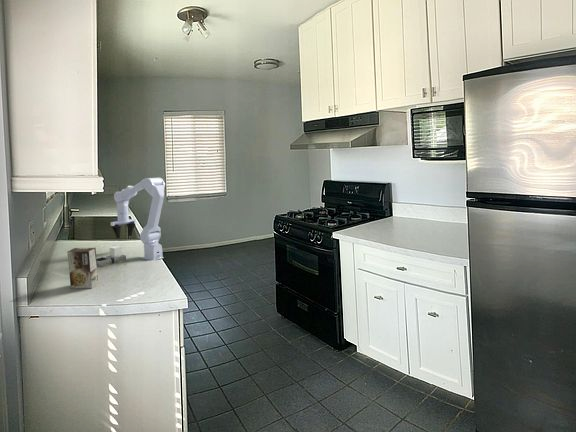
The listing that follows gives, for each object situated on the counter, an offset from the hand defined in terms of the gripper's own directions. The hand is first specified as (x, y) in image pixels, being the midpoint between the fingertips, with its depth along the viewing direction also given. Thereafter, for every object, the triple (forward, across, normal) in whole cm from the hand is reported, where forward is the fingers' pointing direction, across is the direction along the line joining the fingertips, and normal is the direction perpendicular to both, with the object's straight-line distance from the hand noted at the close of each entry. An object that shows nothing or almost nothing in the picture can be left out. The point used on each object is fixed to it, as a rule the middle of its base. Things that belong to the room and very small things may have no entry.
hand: (124, 236), depth 218 cm
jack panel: (+10, +17, +10) cm, 22 cm away
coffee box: (+10, +44, +34) cm, 57 cm away
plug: (+9, +12, +10) cm, 19 cm away
